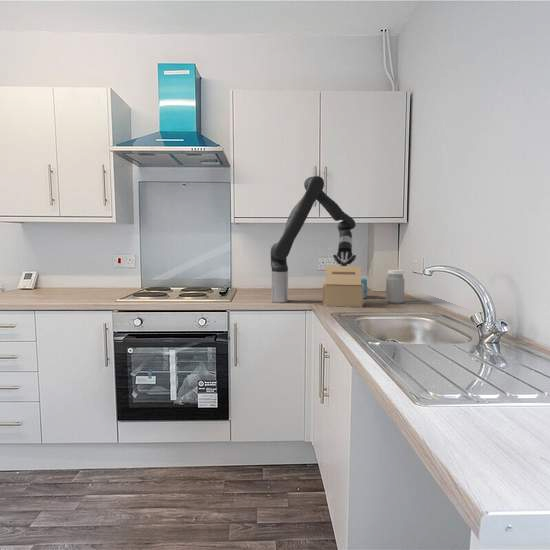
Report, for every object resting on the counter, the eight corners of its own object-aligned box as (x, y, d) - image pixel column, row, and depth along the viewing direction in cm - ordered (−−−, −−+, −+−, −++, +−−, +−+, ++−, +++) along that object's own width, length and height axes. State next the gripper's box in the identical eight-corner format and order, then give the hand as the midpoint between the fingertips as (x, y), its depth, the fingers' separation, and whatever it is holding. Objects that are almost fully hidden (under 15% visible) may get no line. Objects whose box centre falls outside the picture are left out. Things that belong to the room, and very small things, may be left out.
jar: (384, 303, 218) (385, 270, 216) (387, 300, 227) (388, 269, 225) (402, 304, 214) (403, 271, 212) (405, 301, 223) (405, 269, 221)
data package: (366, 298, 234) (367, 278, 233) (360, 299, 232) (360, 278, 231) (355, 295, 245) (355, 276, 244) (349, 296, 244) (349, 276, 242)
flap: (325, 284, 208) (325, 265, 211) (325, 284, 209) (326, 266, 211) (361, 284, 204) (361, 266, 206) (361, 285, 204) (361, 266, 207)
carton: (322, 305, 210) (322, 285, 209) (325, 301, 224) (325, 282, 223) (363, 307, 205) (363, 286, 204) (363, 302, 220) (364, 283, 218)
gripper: (333, 241, 221) (331, 264, 211) (357, 241, 219) (356, 264, 208) (333, 250, 227) (331, 273, 216) (357, 250, 224) (356, 273, 214)
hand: (343, 269), depth 212 cm, fingers closed
